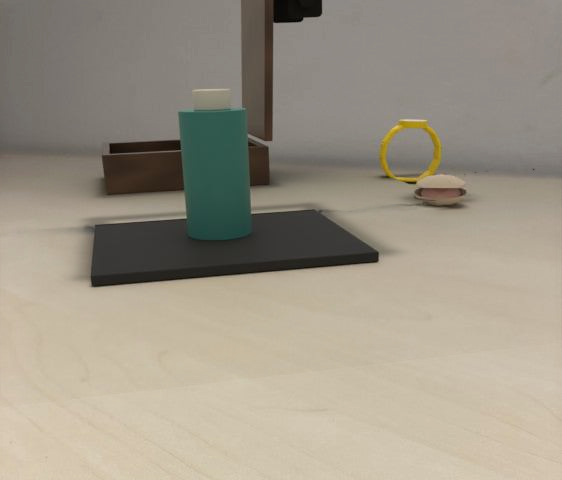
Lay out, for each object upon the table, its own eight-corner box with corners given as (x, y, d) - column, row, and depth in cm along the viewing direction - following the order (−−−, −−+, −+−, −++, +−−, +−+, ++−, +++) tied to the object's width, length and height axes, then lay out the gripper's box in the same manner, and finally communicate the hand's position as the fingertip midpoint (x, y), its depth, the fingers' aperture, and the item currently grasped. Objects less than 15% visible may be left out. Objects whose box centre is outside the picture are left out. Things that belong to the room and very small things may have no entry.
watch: (383, 185, 69) (385, 121, 67) (376, 181, 72) (377, 120, 69) (442, 183, 70) (446, 119, 67) (433, 179, 72) (436, 117, 70)
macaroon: (412, 208, 58) (413, 177, 57) (416, 198, 62) (417, 168, 61) (465, 209, 57) (468, 177, 56) (465, 198, 61) (468, 169, 60)
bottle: (191, 242, 46) (179, 91, 42) (185, 229, 50) (173, 90, 46) (257, 237, 47) (251, 89, 43) (246, 225, 51) (239, 87, 47)
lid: (264, -60, 60) (328, -56, 61) (240, -39, 71) (294, -36, 72) (264, 141, 66) (321, 140, 67) (242, 131, 77) (291, 131, 78)
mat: (91, 286, 39) (90, 276, 39) (96, 226, 55) (95, 219, 54) (379, 261, 43) (379, 251, 42) (308, 211, 58) (307, 204, 58)
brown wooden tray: (107, 202, 65) (101, 155, 63) (107, 183, 76) (102, 142, 74) (270, 191, 68) (268, 146, 66) (247, 175, 79) (245, 135, 77)
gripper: (231, -180, 68) (242, 27, 75) (267, -256, 53) (277, 14, 60) (305, -179, 69) (310, 24, 77) (362, -252, 54) (361, 11, 61)
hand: (296, 18), depth 68 cm, fingers closed on lid, 6 cm apart
